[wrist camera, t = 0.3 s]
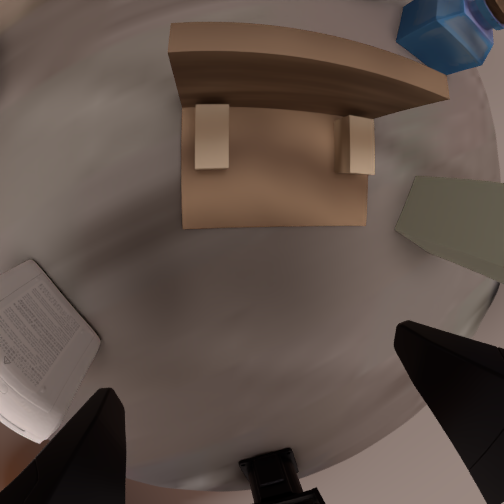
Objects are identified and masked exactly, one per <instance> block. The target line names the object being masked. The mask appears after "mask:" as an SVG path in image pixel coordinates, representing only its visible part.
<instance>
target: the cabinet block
mask: <svg viewBox="0 0 504 504" xmlns="http://www.w3.org/2000/svg"><path fill="white" fill-rule="evenodd" d="M394 230H395V231H397V232H398V233H400V234H401V235H403V236H404V237H406V238H407V239H409V240H410V241H412V242H413V243H415V244H416V245H418V246H419V247H421V248H422V249H424V250H425V251H427V252H428V253H430V254H432V255H435V256H438V257H440V258H443V259H445V260H448V261H450V262H453V263H455V264H458V265H460V266H463V267H465V268H467V269H470V270H472V271H475V272H477V273H479V274H482V275H484V276H486V277H489V278H491V279H493V280H496V281H498V282H500V283H502V284H504V183H498V182H489V181H480V180H469V179H457V178H444V177H427V176H416V177H415V179H414V182H413V185H412V188H411V190H410V193H409V195H408V198H407V200H406V203H405V205H404V208H403V210H402V213H401V215H400V218H399V220H398V222H397V225H396V227H395V229H394Z"/></svg>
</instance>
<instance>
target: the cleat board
mask: <svg viewBox="0 0 504 504" xmlns="http://www.w3.org/2000/svg"><path fill="white" fill-rule="evenodd" d="M168 55H169V59H170V63H171V67H172V71H173V75H174V78H175V82H176V86H177V90H178V94H179V97H180V101H181V105H182V135H181V190H182V226H183V229H204V228H236V227H280V226H366V215H367V192H368V175H375V141H374V120H373V119H374V118H378V117H381V116H385V115H388V114H392V113H395V112H399V111H403V110H407V109H410V108H414V107H418V106H422V105H427V104H431V103H435V102H439V101H444V100H448V99H450V98H449V90H448V83H447V77H446V75H445V74H443V73H441V72H438V71H436V70H434V69H432V68H430V67H427V66H425V65H423V64H420V63H418V62H415V61H413V60H410V59H408V58H405V57H402V56H400V55H397V54H394V53H391V52H388V51H385V50H382V49H379V48H376V47H373V46H370V45H366V44H363V43H359V42H356V41H352V40H348V39H344V38H340V37H336V36H332V35H327V34H322V33H317V32H312V31H307V30H301V29H295V28H288V27H280V26H272V25H263V24H251V23H234V22H186V23H171V28H170V36H169V45H168Z"/></svg>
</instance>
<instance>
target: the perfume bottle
mask: <svg viewBox="0 0 504 504" xmlns="http://www.w3.org/2000/svg"><path fill="white" fill-rule="evenodd" d="M493 28H494V29H495V30H501V29H504V0H413V1H412V2H410V3H409V4H407V5H406V6H404V7H403V12H402V17H401V22H400V26H399V31H398V35H397V39H396V42H397V43H398V44H400V45H401V46H402V47H404V48H405V49H406V50H408V51H409V52H410V53H412V54H413V55H414V56H416V57H417V58H418V59H419V60H421V61H422V62H423V63H424V64H425V65H427V66H428V67H430V68H432V69H434V70H436V71H438V72H441V73H443V74H445V75H449V74H452V73H455V72H459V71H462V70H466V69H470V68H473V67H477V66H481V65H482V64H483V62H484V61H485V59H486V57H487V55H488V53H489V52H490V50H491V48H492V46H493V31H492V29H493Z"/></svg>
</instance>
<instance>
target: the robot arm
mask: <svg viewBox="0 0 504 504" xmlns="http://www.w3.org/2000/svg"><path fill="white" fill-rule="evenodd" d="M394 349H395V351H396V353H397V355H398V357H399V358H400V360H401V362H402V364H403V366H404V368H405V369H406V371H407V373H408V375H409V377H410V379H411V381H412V382H413V384H414V386H415V387H416V389H417V390H418V392H419V393H420V395H421V396H422V398H423V399H424V401H425V402H426V403H427V405H428V406H429V408H430V409H431V411H432V412H433V414H434V416H435V417H436V419H437V420H438V422H439V423H440V425H441V426H442V428H443V430H444V431H445V433H446V434H447V436H448V437H449V439H450V440H451V442H452V444H453V445H454V447H455V449H456V450H457V452H458V453H459V455H460V456H461V459H462V460H463V462H464V463H465V465H466V467H467V469H468V470H469V472H470V474H471V476H472V477H473V479H474V481H475V483H476V484H477V486H478V488H479V490H480V492H481V493H482V495H483V497H484V499H485V501H486V502H487V504H501V503H502V502H504V349H502V348H497V347H496V346H492V345H489V344H486V343H482V342H479V341H475V340H472V339H469V338H465V337H462V336H459V335H455V334H452V333H449V332H445V331H442V330H439V329H436V328H432V327H429V326H426V325H423V324H419V323H416V322H413V321H410V320H407V321H404V322H401V323H399V324H398V325H397V327H396V333H395V339H394ZM239 466H240V468H241V470H242V471H243V473H244V475H245V476H246V478H247V479H248V481H249V483H250V486H251V491H252V495H253V499H254V504H325V502H324V501H323V498H322V496H321V495H320V493H319V491H318V489H317V488H313V489H312V490H309V491H305V492H303V490H302V487H301V484H300V482H299V479H298V476H297V473H298V472H299V471H298V468H297V464H296V461H295V458H294V455H293V451H292V449H290V448H288V449H285V450H281V451H278V452H274V453H271V454H267V455H264V456H260V457H256V458H252V459H248V460H244V461H240V462H239ZM125 478H126V435H125V410H124V407H123V404H122V403H121V401H120V399H119V398H118V396H117V395H116V393H115V391H114V390H113V389H112V388H100V389H98V390H97V391H96V392H95V394H94V395H93V396H92V397H91V398H90V399H89V400H88V401H87V402H86V403H85V404H84V405H83V406H82V407H81V408H80V410H79V411H78V412H77V413H76V414H75V415H74V416H73V417H72V418H71V419H70V420H69V421H68V422H67V423H66V425H65V426H64V427H63V428H62V429H61V430H60V431H59V432H58V433H57V434H56V435H55V436H54V438H53V439H52V440H51V441H50V442H49V443H48V444H47V445H46V446H45V447H44V448H43V450H42V451H41V452H40V453H39V454H38V455H37V456H36V457H35V459H33V461H32V462H31V463H30V464H29V465H28V466H27V467H26V468H25V469H24V470H23V471H22V472H21V473H20V474H19V475H18V476H17V477H16V478H15V479H14V480H13V481H12V482H11V483H10V484H9V485H8V486H7V487H5V488H4V489H3V490H2V491H1V492H0V504H125Z"/></svg>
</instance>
